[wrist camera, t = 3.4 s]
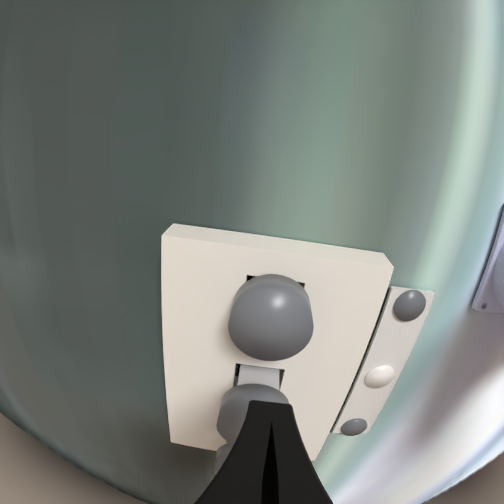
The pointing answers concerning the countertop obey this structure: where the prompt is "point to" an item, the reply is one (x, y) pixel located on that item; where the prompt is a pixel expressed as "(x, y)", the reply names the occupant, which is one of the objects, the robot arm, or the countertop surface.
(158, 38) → the countertop surface
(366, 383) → the card
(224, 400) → the button
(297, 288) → the button
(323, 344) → the board
